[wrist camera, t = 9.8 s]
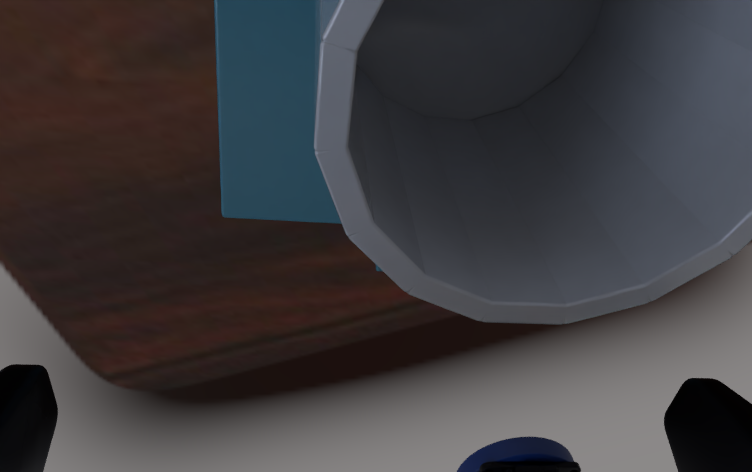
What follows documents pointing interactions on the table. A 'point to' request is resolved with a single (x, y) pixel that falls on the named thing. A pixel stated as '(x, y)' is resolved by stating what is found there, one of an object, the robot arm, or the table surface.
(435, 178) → the cup
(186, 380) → the table surface
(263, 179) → the container
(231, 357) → the table surface
